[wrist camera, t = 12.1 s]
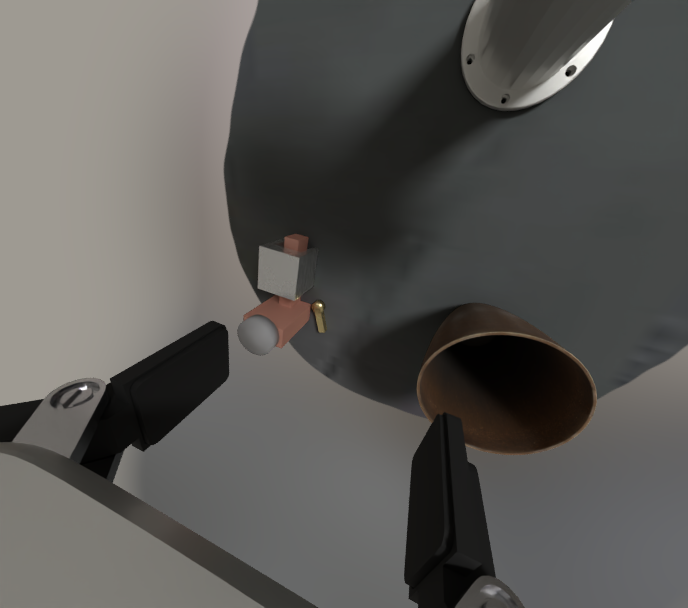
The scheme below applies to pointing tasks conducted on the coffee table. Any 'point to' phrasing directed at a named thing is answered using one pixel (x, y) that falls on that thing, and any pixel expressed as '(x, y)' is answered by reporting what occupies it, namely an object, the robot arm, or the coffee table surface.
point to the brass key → (319, 315)
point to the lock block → (286, 270)
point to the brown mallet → (275, 315)
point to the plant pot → (504, 382)
